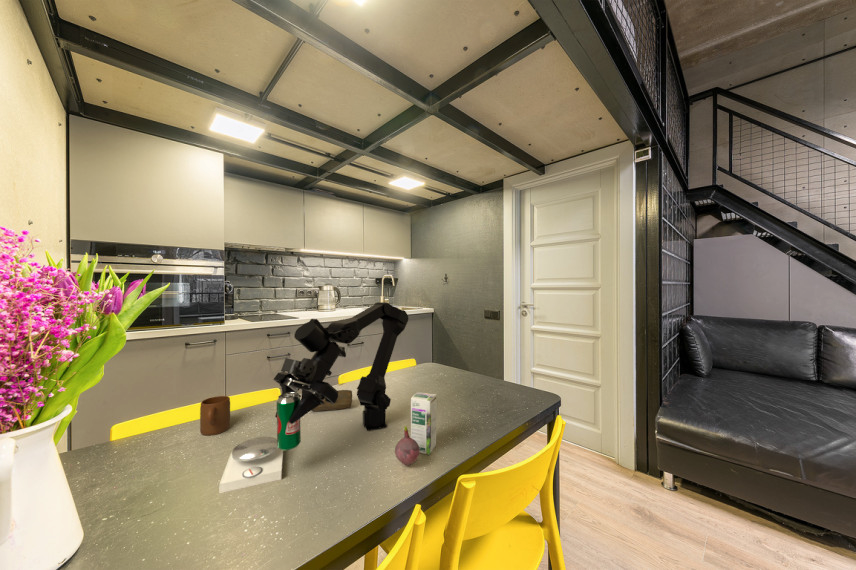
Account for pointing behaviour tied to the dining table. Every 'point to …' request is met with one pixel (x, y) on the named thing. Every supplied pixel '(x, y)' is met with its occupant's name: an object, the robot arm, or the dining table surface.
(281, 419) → the soda can
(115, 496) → the dining table surface
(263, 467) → the kitchen scale
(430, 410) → the syrup box
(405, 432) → the vegetable
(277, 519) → the dining table surface
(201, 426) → the mug
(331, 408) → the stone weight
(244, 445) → the scale pan
